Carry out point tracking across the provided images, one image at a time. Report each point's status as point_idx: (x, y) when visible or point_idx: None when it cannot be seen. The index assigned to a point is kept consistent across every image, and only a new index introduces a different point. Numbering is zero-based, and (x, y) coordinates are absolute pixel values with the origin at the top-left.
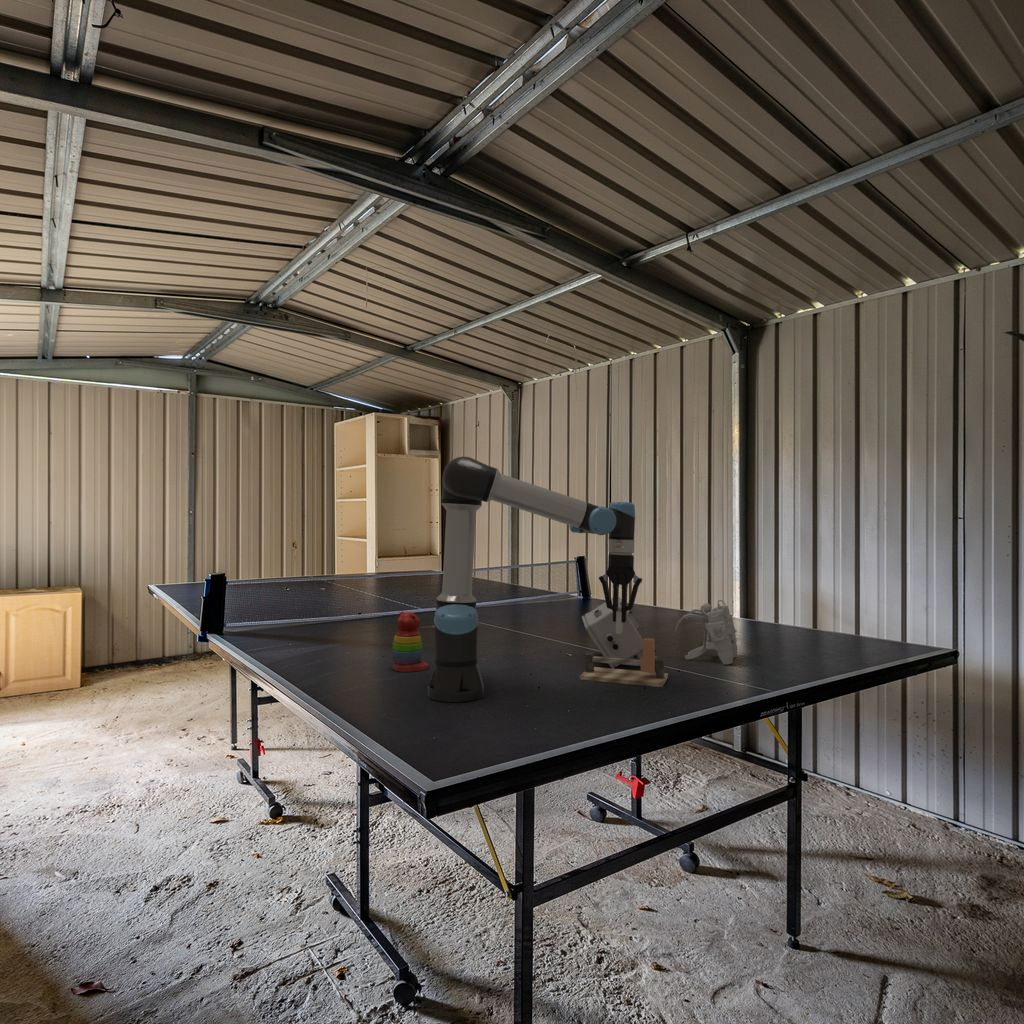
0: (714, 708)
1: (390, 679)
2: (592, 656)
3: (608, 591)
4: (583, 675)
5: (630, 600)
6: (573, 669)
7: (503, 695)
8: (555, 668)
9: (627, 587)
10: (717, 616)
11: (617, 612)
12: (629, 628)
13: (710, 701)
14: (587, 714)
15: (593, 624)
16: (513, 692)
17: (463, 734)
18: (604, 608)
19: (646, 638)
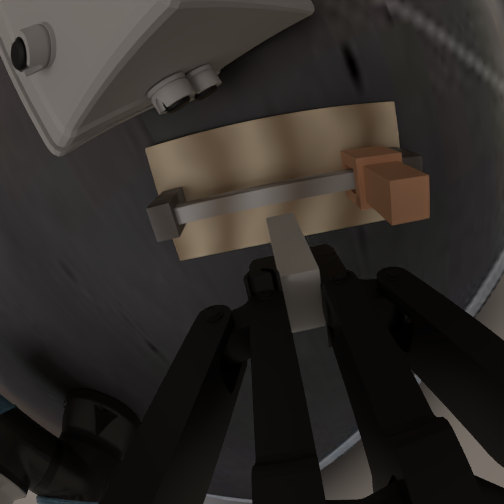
0: (479, 296)
1: (3, 380)
2: (177, 223)
3: (202, 450)
4: (188, 256)
5: (419, 366)
6: (106, 165)
7: (147, 400)
8: (67, 187)
9: (440, 421)
10: None
11: (297, 328)
12: (251, 19)
13: (479, 262)
14: (308, 412)
15: (74, 138)
16: (145, 385)
17: (221, 474)
18: None
19: (399, 184)
